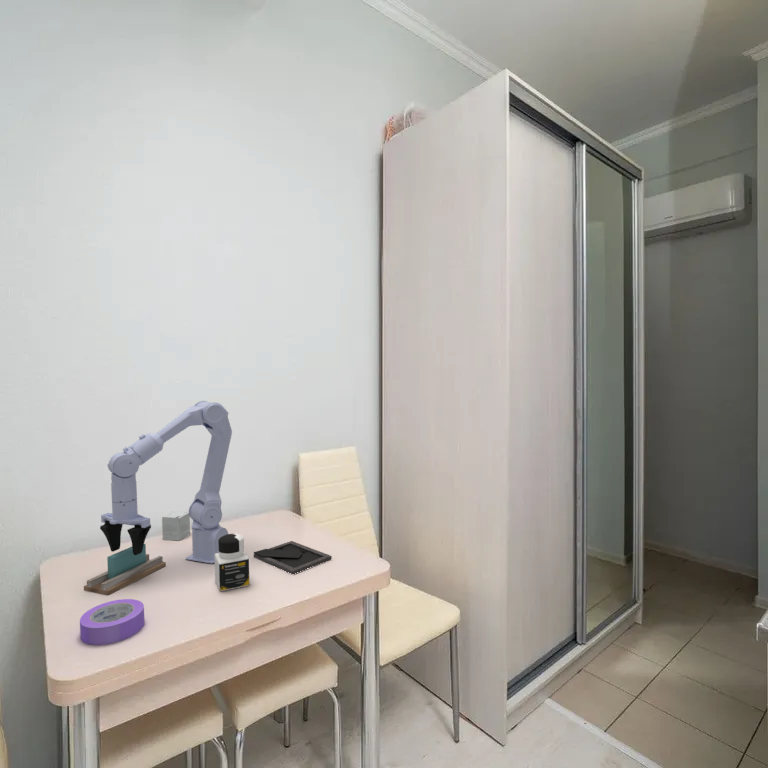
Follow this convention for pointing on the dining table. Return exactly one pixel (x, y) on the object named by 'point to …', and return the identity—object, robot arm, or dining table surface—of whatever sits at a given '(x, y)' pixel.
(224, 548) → the medicine bottle
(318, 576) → the dining table surface
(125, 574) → the door track
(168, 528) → the skincare box
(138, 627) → the masking tape
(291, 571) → the picture frame
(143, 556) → the door panel
